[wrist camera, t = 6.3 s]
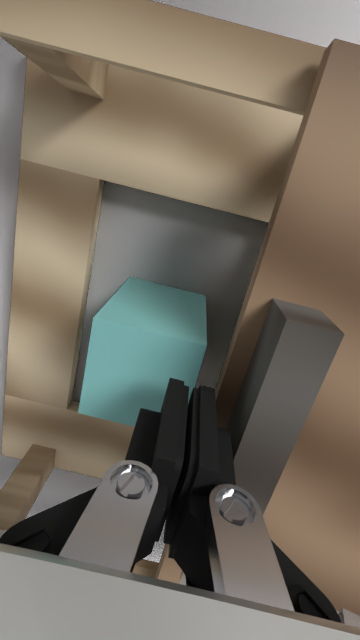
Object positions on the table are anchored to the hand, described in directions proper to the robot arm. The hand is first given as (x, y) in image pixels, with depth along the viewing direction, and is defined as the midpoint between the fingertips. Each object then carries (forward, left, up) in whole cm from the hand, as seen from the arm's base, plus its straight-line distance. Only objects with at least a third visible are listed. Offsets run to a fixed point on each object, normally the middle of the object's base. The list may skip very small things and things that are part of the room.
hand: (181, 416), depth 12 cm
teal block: (0, -2, -9) cm, 9 cm away
